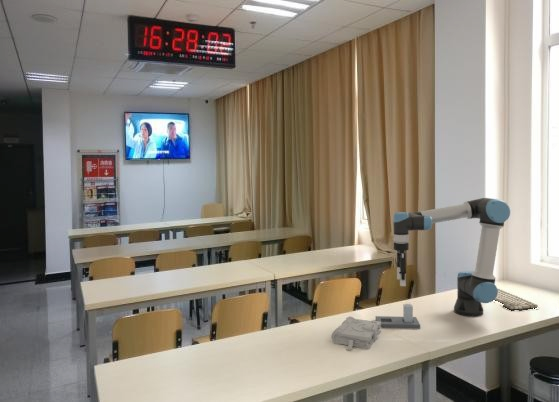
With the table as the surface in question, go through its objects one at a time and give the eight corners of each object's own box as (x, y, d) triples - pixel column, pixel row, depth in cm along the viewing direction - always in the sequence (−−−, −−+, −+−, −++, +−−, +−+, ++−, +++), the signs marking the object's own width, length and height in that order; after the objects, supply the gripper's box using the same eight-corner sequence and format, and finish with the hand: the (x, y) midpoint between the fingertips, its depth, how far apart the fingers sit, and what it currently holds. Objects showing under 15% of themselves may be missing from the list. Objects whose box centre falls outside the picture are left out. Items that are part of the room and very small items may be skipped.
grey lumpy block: (327, 347, 206) (327, 331, 206) (345, 327, 231) (345, 313, 231) (368, 355, 198) (368, 338, 197) (383, 334, 223) (383, 319, 222)
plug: (411, 323, 234) (411, 302, 233) (412, 325, 230) (412, 305, 229) (403, 322, 235) (403, 302, 234) (404, 325, 231) (404, 305, 230)
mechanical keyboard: (472, 294, 287) (472, 289, 287) (499, 292, 290) (500, 287, 290) (512, 313, 250) (512, 307, 250) (542, 311, 253) (542, 305, 253)
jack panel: (415, 321, 238) (415, 316, 237) (420, 329, 226) (420, 324, 226) (375, 320, 240) (375, 316, 240) (377, 328, 228) (377, 323, 228)
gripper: (391, 238, 245) (391, 276, 246) (396, 246, 220) (396, 288, 222) (405, 238, 244) (405, 276, 245) (412, 246, 219) (412, 289, 221)
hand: (401, 282), depth 234 cm, fingers open, 13 cm apart
